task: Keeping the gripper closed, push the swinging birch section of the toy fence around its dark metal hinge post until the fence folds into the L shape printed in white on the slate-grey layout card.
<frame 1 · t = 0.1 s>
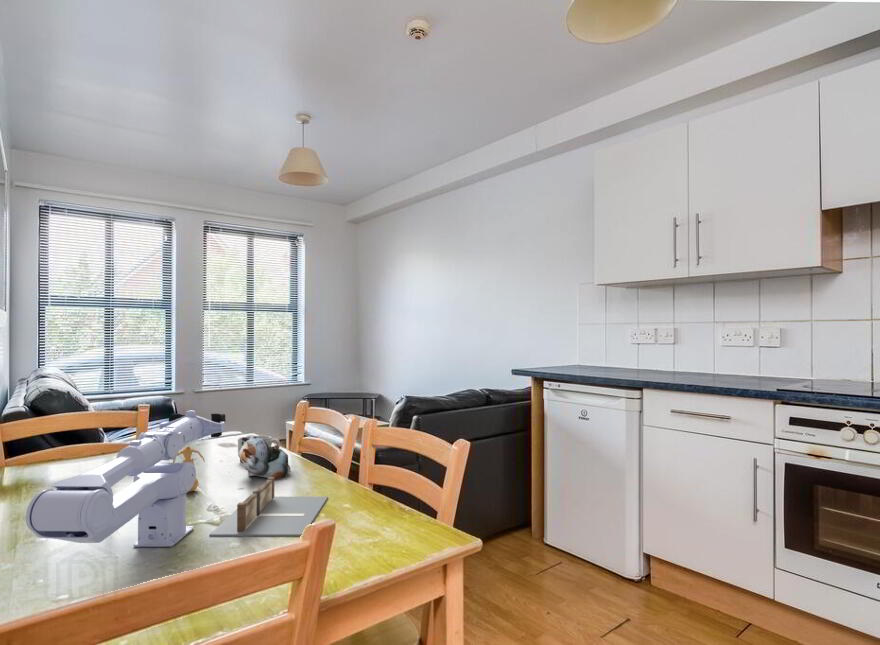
hand: (208, 418, 126), 22 cm above the table, tool horizontal, fingers open, 7 cm apart
figurine: (188, 491, 137), on the table
lucky cat figurine: (265, 476, 151), on the table
fixed fence section: (249, 509, 114), on the layout card
teacup: (258, 462, 167), on the table
layout card: (274, 515, 119), on the table
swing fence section: (265, 493, 124), point 3 cm above the table, hinge at 0.0°
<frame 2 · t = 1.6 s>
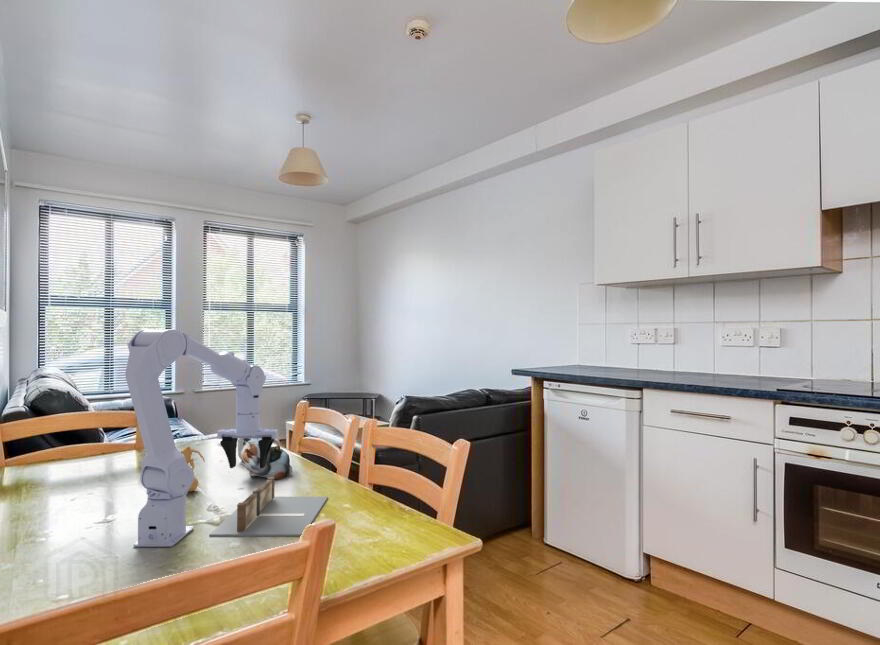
hand: (247, 467, 126), 9 cm above the table, tool pointing down, fingers open, 7 cm apart
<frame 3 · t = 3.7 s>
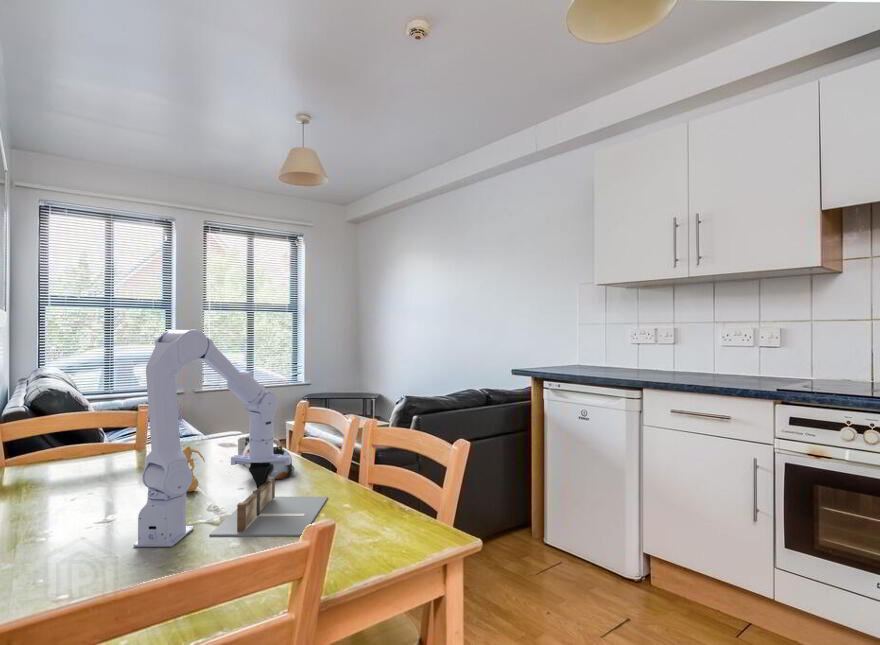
hand: (261, 493, 126), 3 cm above the table, tool pointing down, fingers closed
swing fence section: (265, 493, 124), point 3 cm above the table, hinge at -0.5°, touching gripper
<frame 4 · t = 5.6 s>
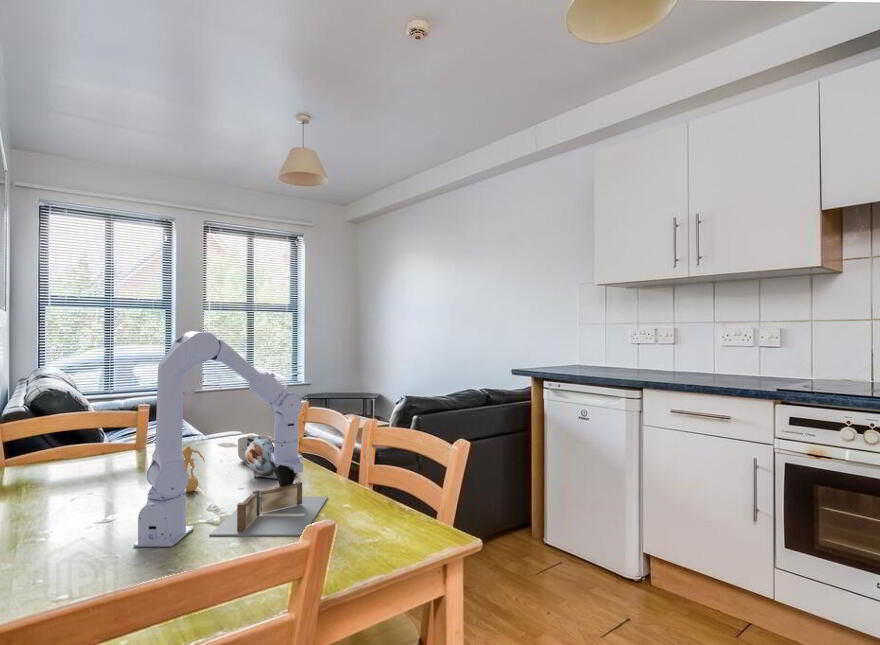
hand: (286, 495, 124), 3 cm above the table, tool pointing down, fingers closed
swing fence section: (281, 496, 122), point 3 cm above the table, hinge at -51.0°, touching gripper
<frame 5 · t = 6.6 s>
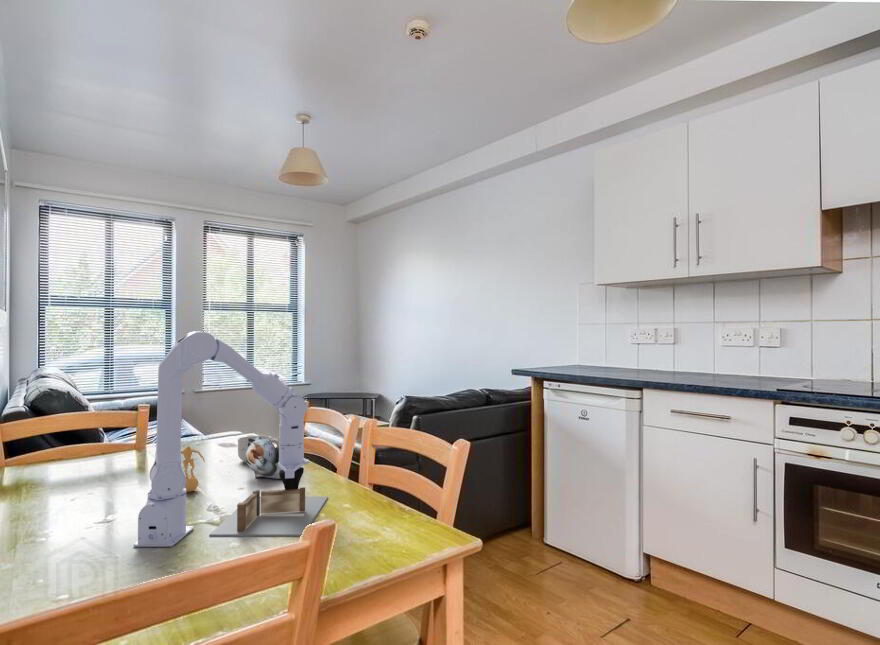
hand: (291, 499, 121), 3 cm above the table, tool pointing down, fingers closed
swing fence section: (283, 500, 119), point 3 cm above the table, hinge at -78.7°, touching gripper
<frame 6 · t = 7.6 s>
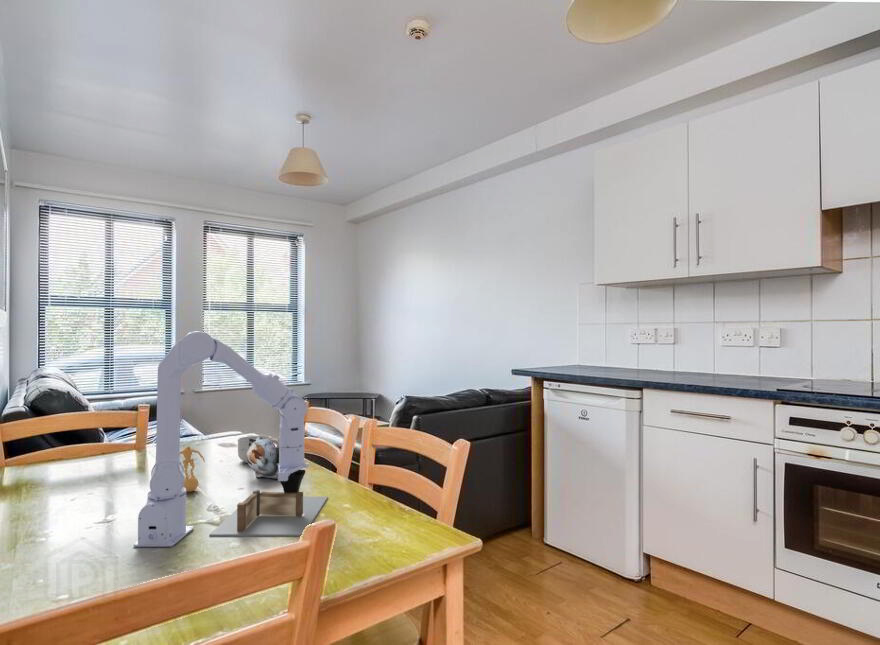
hand: (291, 502, 119), 3 cm above the table, tool pointing down, fingers closed
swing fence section: (281, 503, 117), point 3 cm above the table, hinge at -96.3°, touching gripper
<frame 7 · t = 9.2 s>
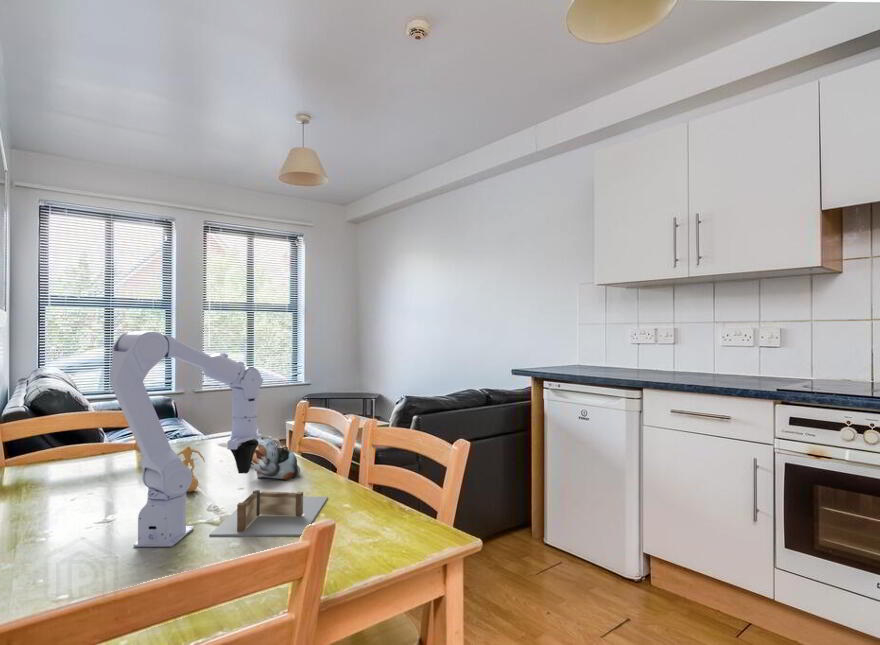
hand: (243, 472, 122), 9 cm above the table, tool pointing down, fingers closed
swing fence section: (281, 503, 117), point 3 cm above the table, hinge at -96.3°
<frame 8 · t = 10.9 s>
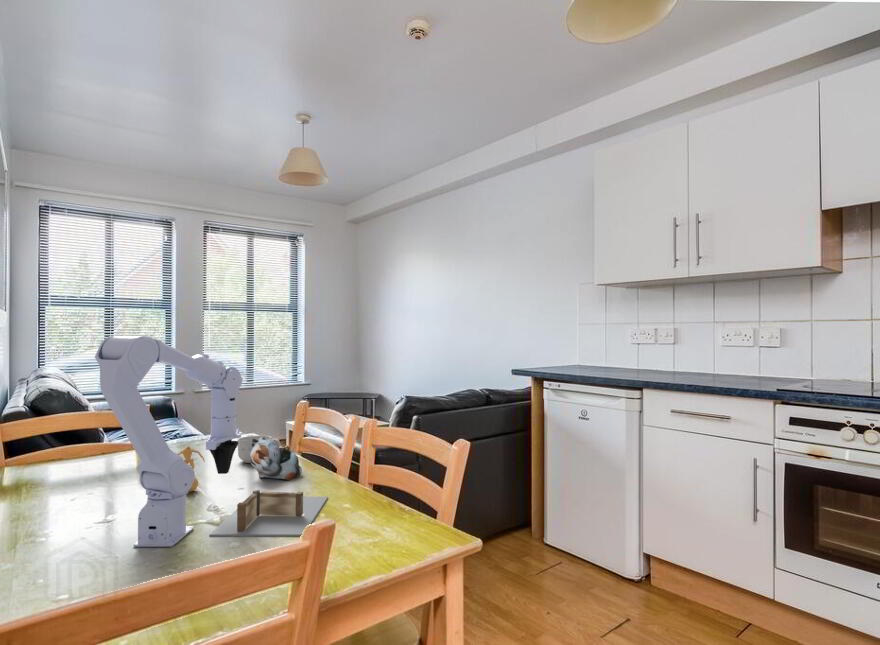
hand: (223, 472, 121), 9 cm above the table, tool pointing down, fingers closed
at the end: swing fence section at -96° (first picture: +0°) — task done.
